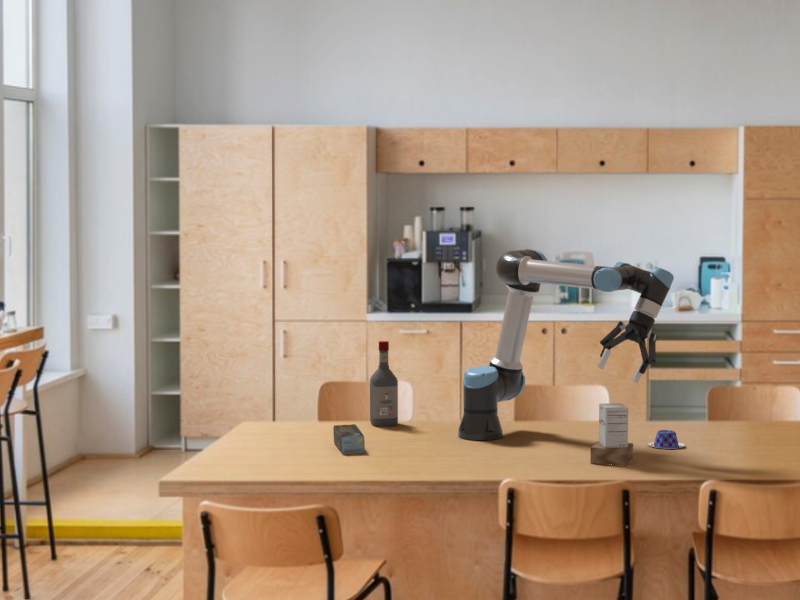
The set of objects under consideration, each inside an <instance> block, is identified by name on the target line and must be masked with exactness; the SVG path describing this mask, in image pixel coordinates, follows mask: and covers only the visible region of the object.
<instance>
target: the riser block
mask: <svg viewBox="0 0 800 600" xmlns="http://www.w3.org/2000/svg"><path fill="white" fill-rule="evenodd" d="M632 459H633V460H634V443H632V442H628V447H623V448H605V447H604V446H603V445H601V444H600V443H599V440H597V441H596V443H594V444H593V445H591V447H590V463H595V464H594V465H603V464H610V465H609V466H616V465H623V466H622V467H628V465H629V464H630V463H631V462H632V461H633V460H632ZM631 460H632V461H631ZM630 461H631V462H630ZM629 462H630V463H629ZM628 463H629V464H628ZM611 464H612V465H611ZM627 464H628V465H627Z"/></svg>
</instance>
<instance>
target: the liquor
mask: <svg viewBox="0 0 800 600" xmlns="http://www.w3.org/2000/svg"><path fill="white" fill-rule="evenodd" d="M389 343H390V342H389V340H381V341H378V351H379V353H378V357H379V358H378V359H379V360H378V367H377V369H376V370H375V371H374V372H373V374H372V375H371V376H370V379H369V422H370V424H371V425H373V426H374V427H378V428H379V427H380V428H381V427H382V428H383V427H394V426H397V424H398V423H399V413H398V412H399V409H398V408H399V401H398V400H399V397H398V396H399V389H398V388H399V383H398V378H397V377H396V375H395V374H394V372H393V371H392V370H391V369H390V366H389V349H390V347H389V346H390V345H389Z"/></svg>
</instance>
